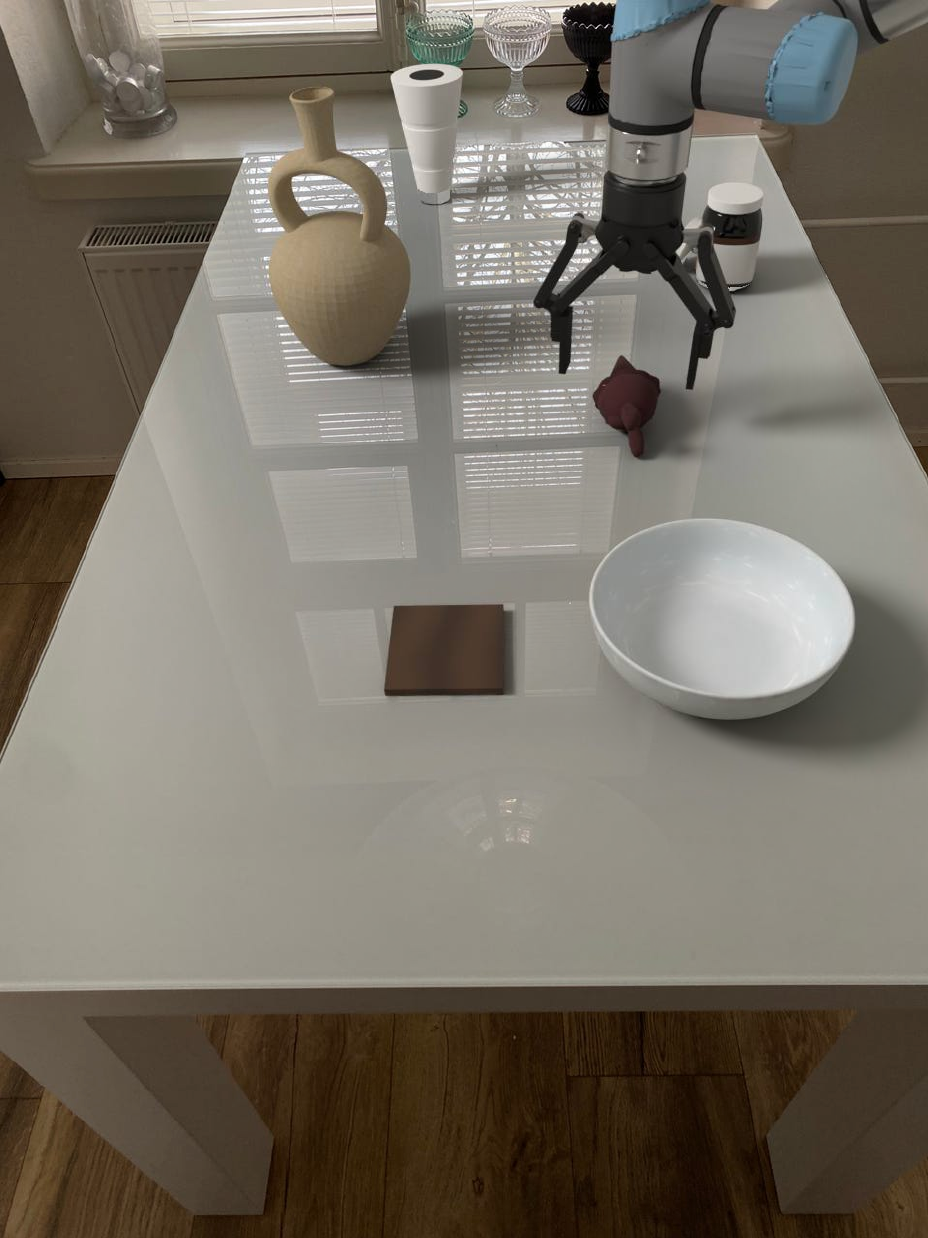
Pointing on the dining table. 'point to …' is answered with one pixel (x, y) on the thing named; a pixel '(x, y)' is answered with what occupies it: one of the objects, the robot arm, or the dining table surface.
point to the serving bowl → (720, 617)
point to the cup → (429, 120)
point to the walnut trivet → (446, 650)
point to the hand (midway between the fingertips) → (626, 375)
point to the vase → (334, 248)
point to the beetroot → (628, 401)
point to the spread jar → (732, 230)
